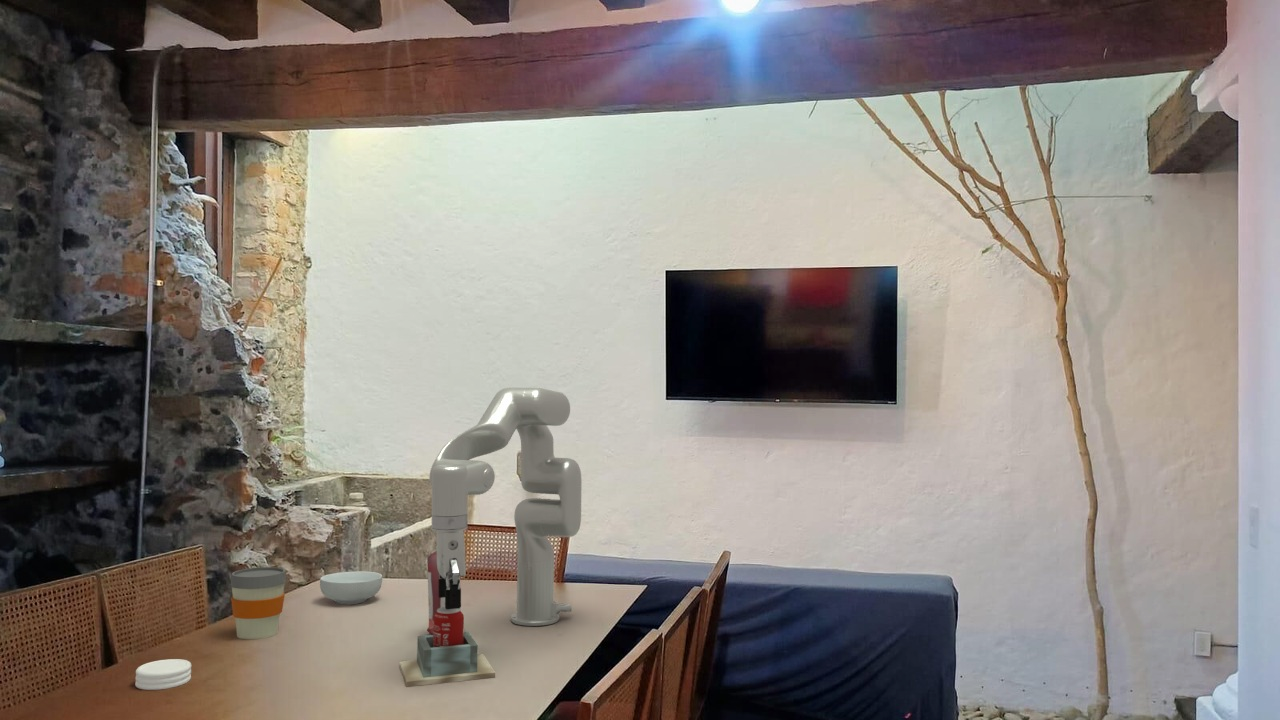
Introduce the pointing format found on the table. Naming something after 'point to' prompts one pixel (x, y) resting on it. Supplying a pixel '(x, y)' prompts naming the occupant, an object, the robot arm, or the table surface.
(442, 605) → the liquor
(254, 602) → the reusable coffee cup
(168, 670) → the coaster
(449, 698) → the table surface
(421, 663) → the well board
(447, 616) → the beverage can
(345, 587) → the cereal bowl
